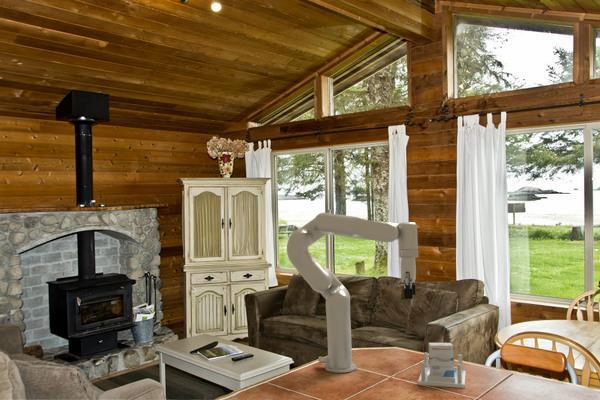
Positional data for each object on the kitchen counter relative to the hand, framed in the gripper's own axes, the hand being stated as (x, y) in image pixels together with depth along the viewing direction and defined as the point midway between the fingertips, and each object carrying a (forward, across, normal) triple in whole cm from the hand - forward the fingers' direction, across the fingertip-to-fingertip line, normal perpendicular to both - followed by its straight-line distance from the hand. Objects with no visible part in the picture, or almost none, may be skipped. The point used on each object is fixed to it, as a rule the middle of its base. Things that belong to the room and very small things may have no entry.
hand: (410, 296), depth 209 cm
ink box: (+27, +11, +12) cm, 32 cm away
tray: (+28, +11, +12) cm, 33 cm away
